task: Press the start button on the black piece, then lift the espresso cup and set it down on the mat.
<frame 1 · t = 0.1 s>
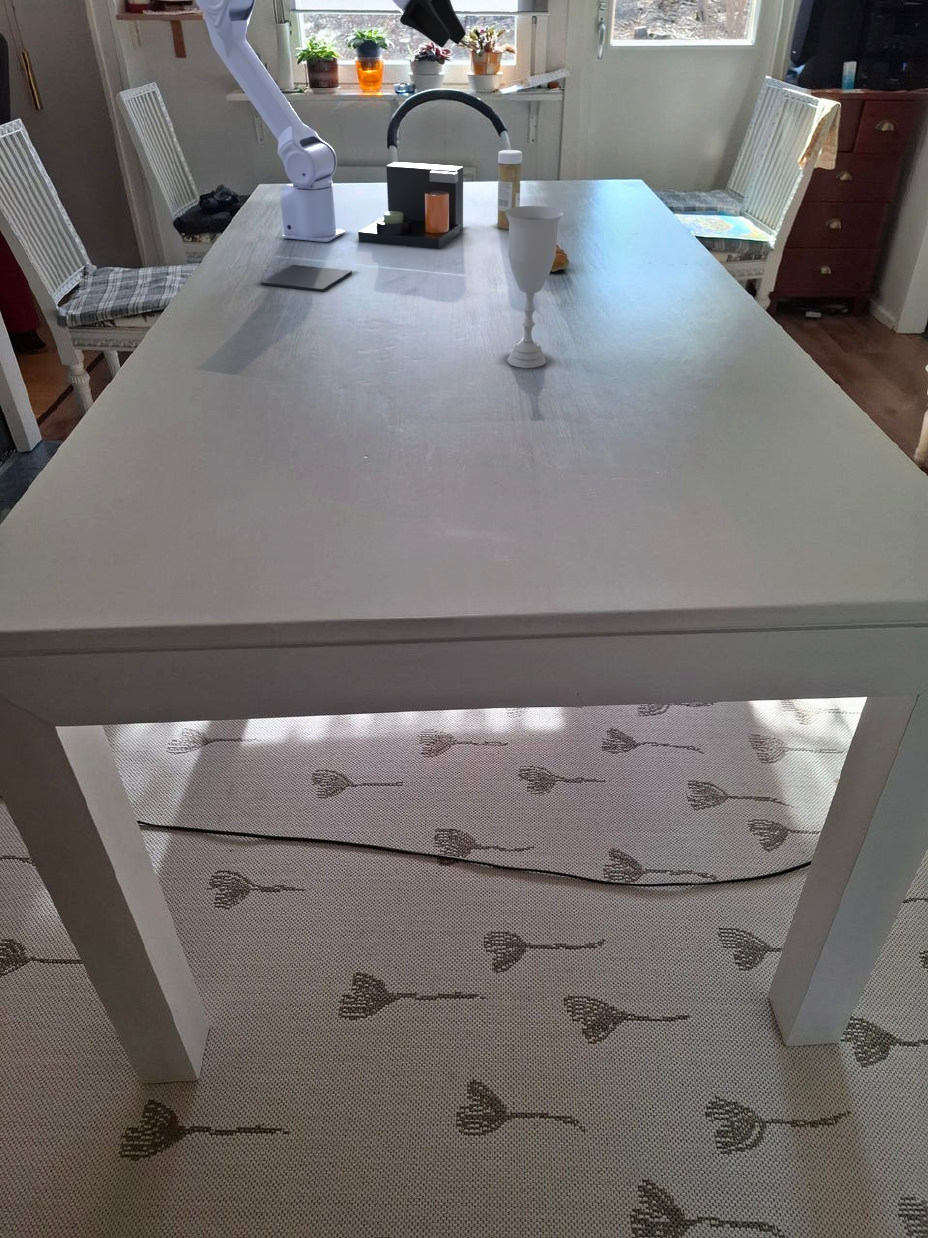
hand: (454, 40, 140), 32 cm above the table, tool tilted 50°, fingers open, 7 cm apart
espresso cup: (437, 230, 163), point 2 cm above the table, touching black piece
sprinkles bottle: (507, 227, 173), on the table
mat: (307, 278, 143), on the table
pastry: (544, 266, 150), on the table
start button: (393, 218, 161), point 4 cm above the table, slide at 0.1 cm
coffee maker column: (425, 227, 172), on the table
chalice: (526, 362, 114), on the table
black piece: (410, 237, 165), on the table
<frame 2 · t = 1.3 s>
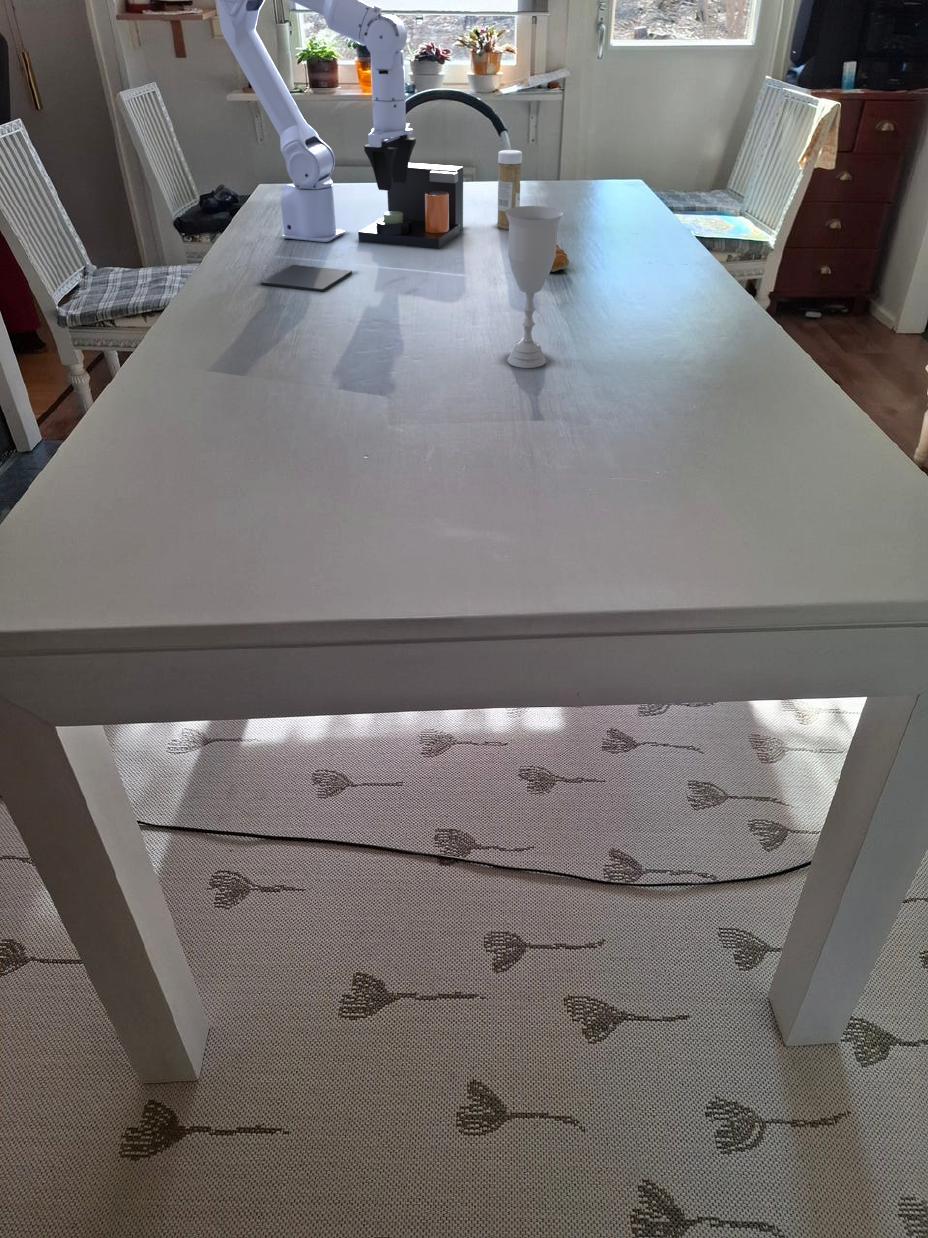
hand: (392, 185, 158), 9 cm above the table, tool pointing down, fingers open, 7 cm apart
nothing on the table moved.
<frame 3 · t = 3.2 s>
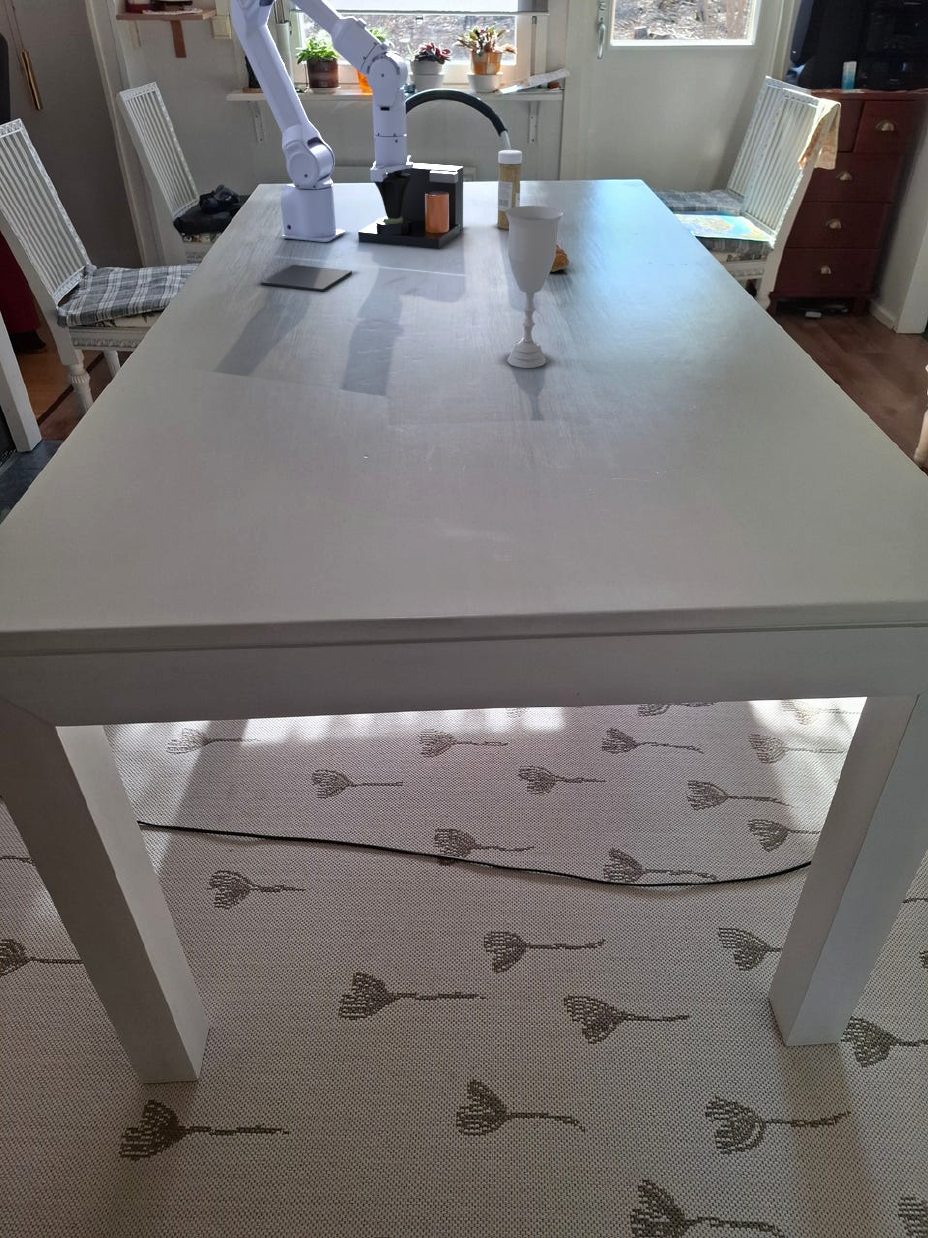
hand: (393, 217, 161), 4 cm above the table, tool pointing down, fingers closed, pressing on start button
start button: (393, 222, 161), point 3 cm above the table, slide at -0.6 cm, touching gripper
everything else where it was.
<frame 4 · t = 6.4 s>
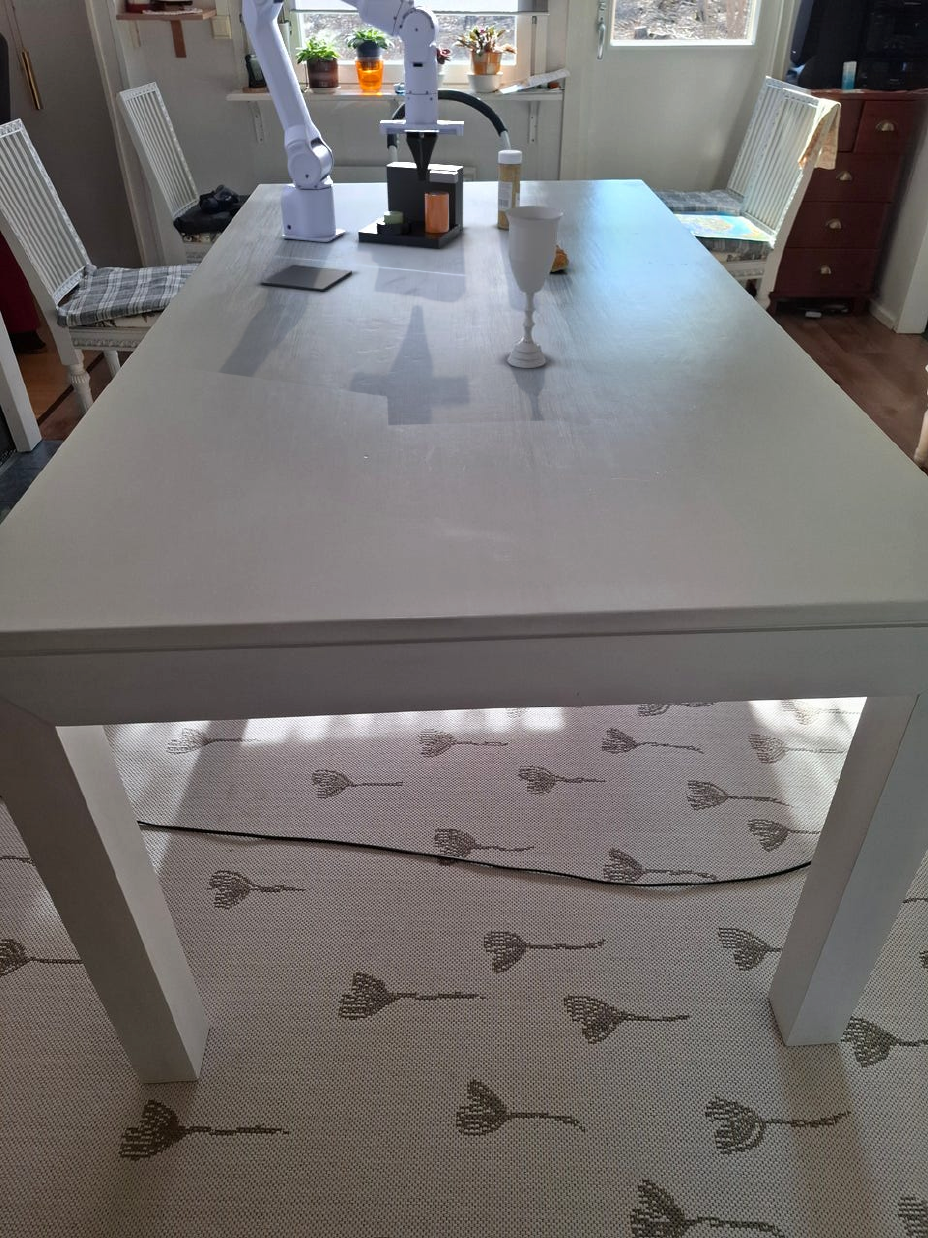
hand: (423, 179, 157), 10 cm above the table, tool pointing down, fingers closed
start button: (393, 218, 161), point 4 cm above the table, slide at 0.1 cm
everything else where it was.
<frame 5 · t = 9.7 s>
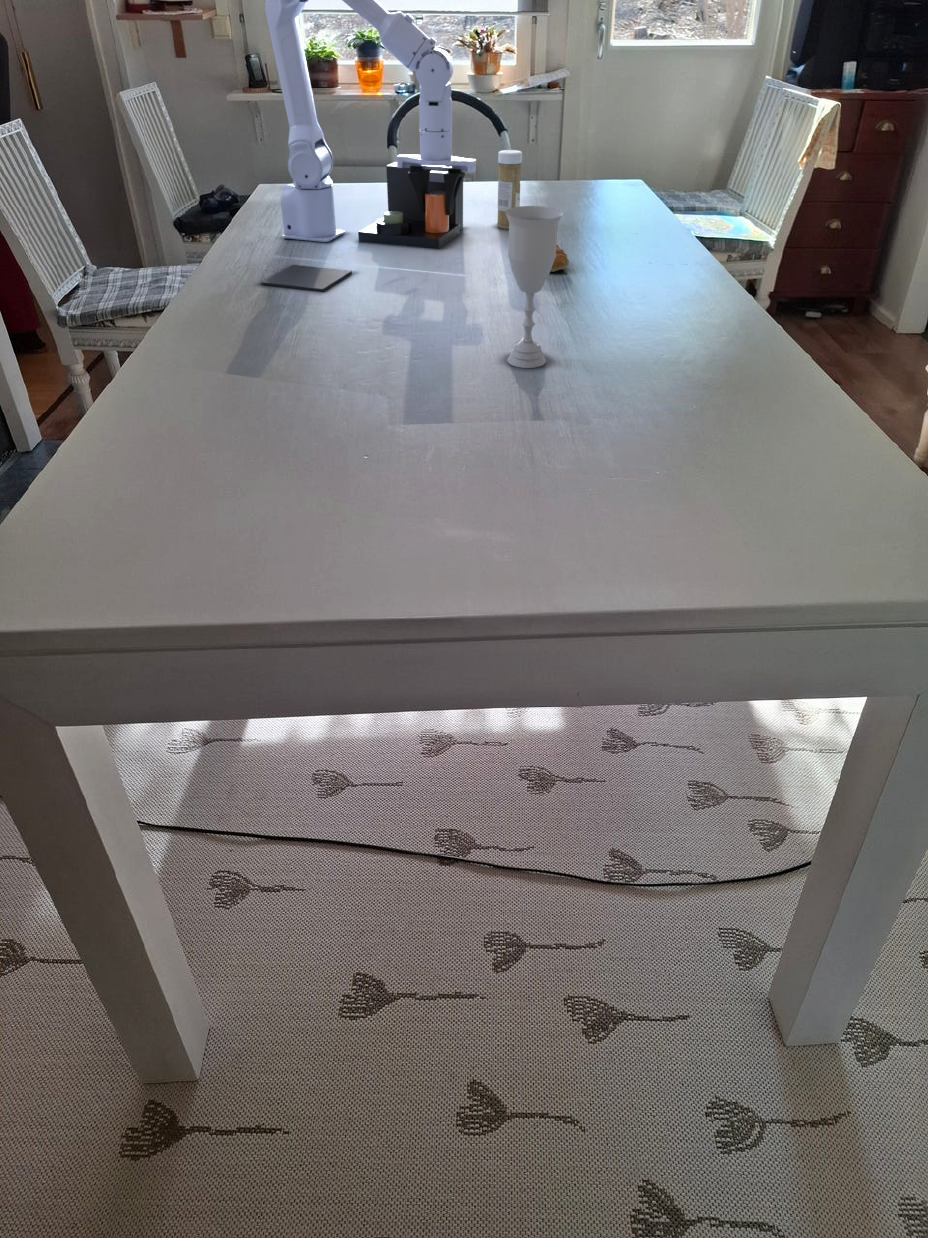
hand: (436, 212, 161), 5 cm above the table, tool pointing down, fingers closed on espresso cup, 4 cm apart
espresso cup: (437, 230, 163), point 2 cm above the table, touching black piece, gripper
everything else where it was.
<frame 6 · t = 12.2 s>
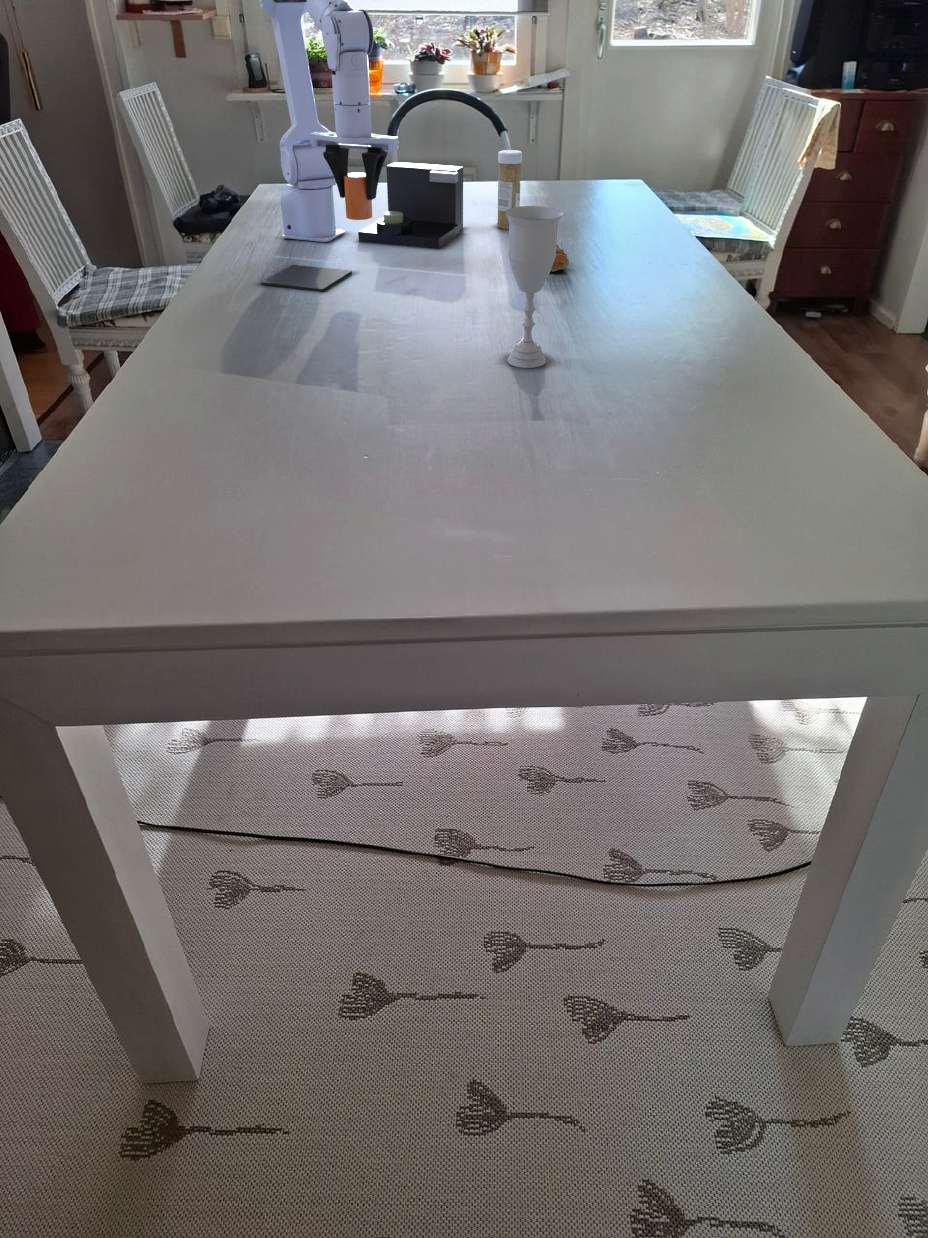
hand: (357, 197, 145), 10 cm above the table, tool pointing down, fingers closed on espresso cup, 4 cm apart
espresso cup: (359, 216, 147), point 7 cm above the table, touching gripper
everything else where it was.
when the fingers open (3 cm above the table, at t = 15.2 s): espresso cup stays where it is, resting on mat.
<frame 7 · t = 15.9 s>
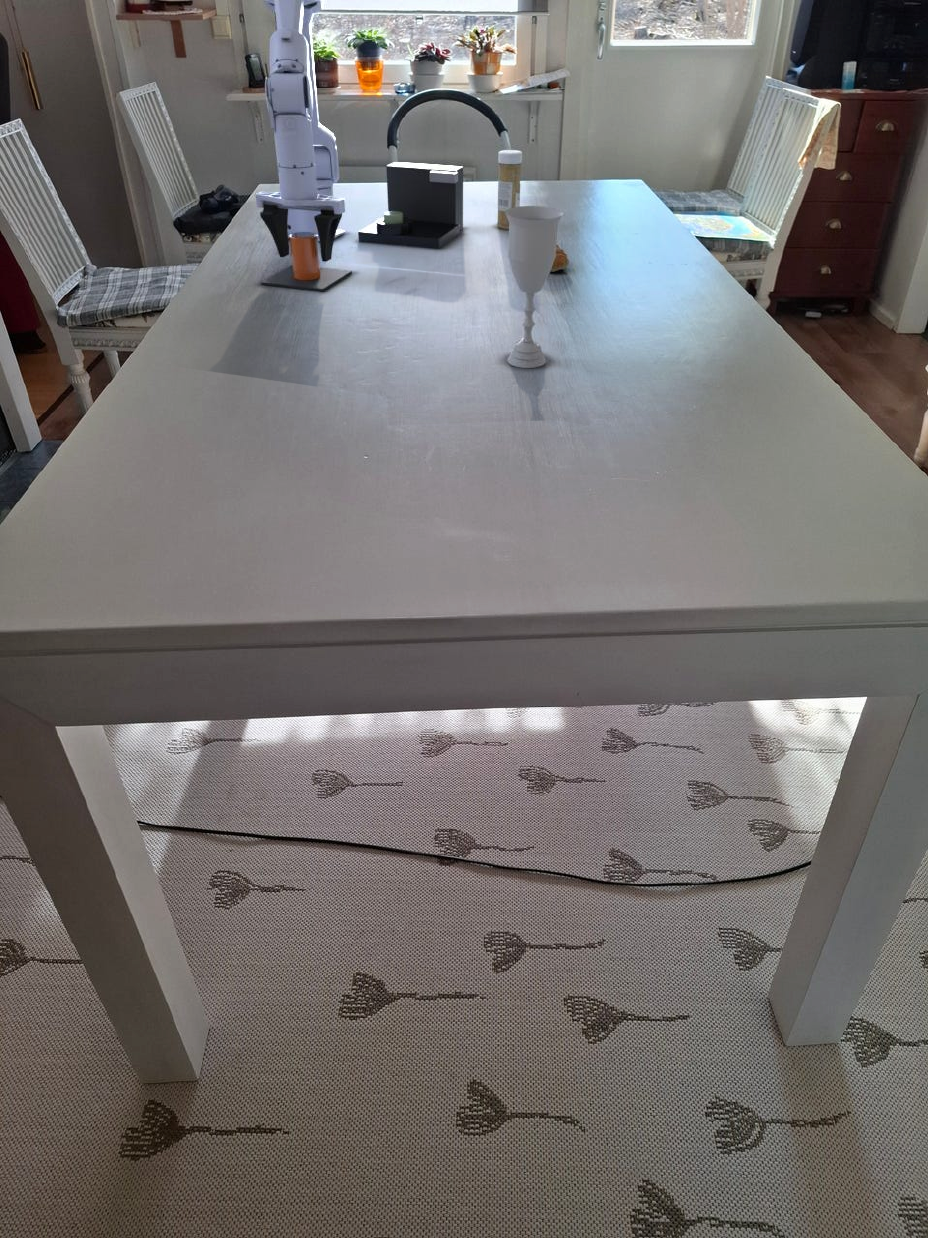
hand: (305, 257, 141), 3 cm above the table, tool pointing down, fingers open, 7 cm apart
espresso cup: (307, 276, 143), resting on mat
everything else where it was.
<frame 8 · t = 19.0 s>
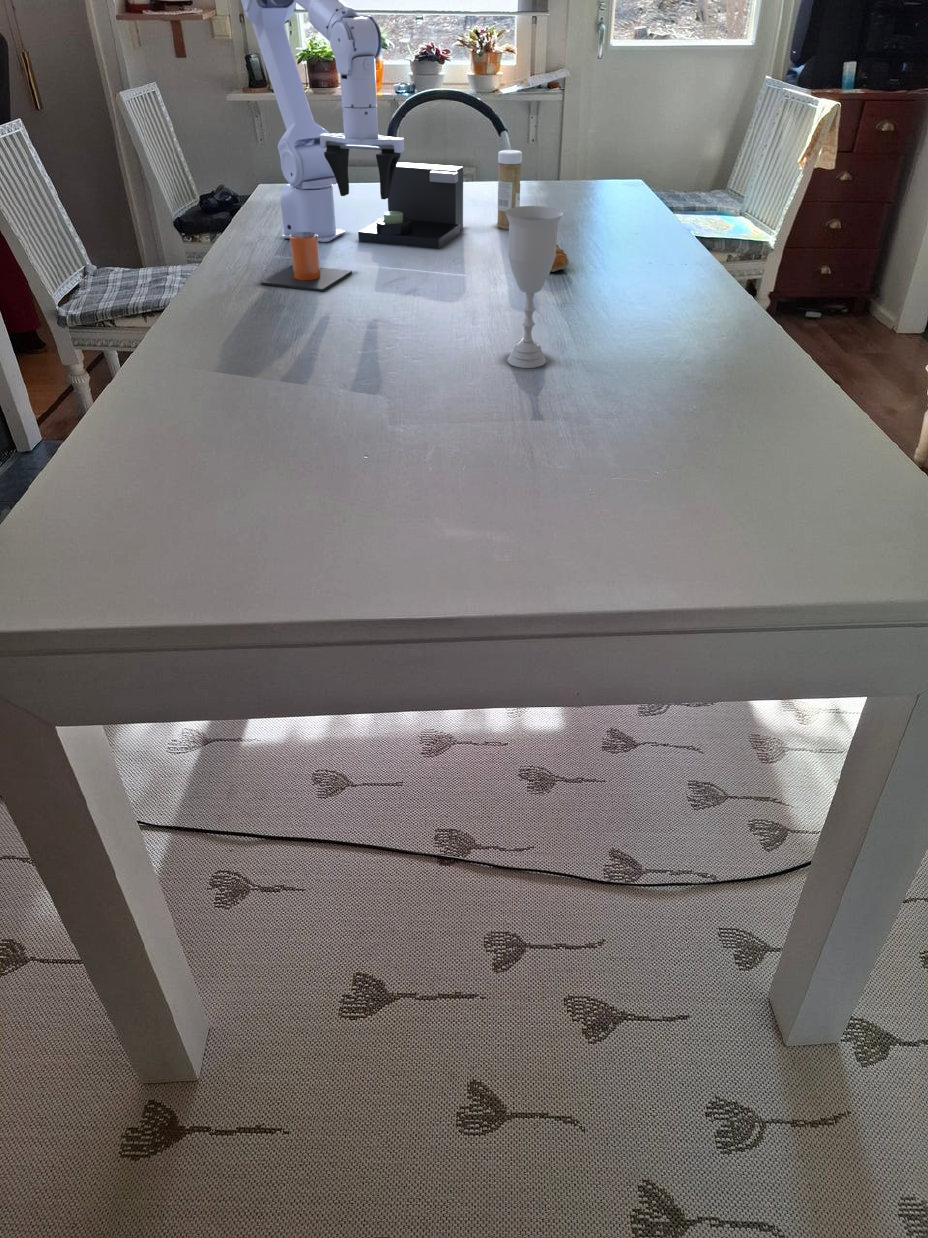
hand: (364, 196, 150), 9 cm above the table, tool pointing down, fingers open, 7 cm apart
nothing on the table moved.
at the end: start button pushed in 1.1 cm at the most during the clip, back to where it started at the end; espresso cup inside the target area on the mat (0.0 cm from its centre), point 0.4 cm above the mat's base; espresso cup tilted 0° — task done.
